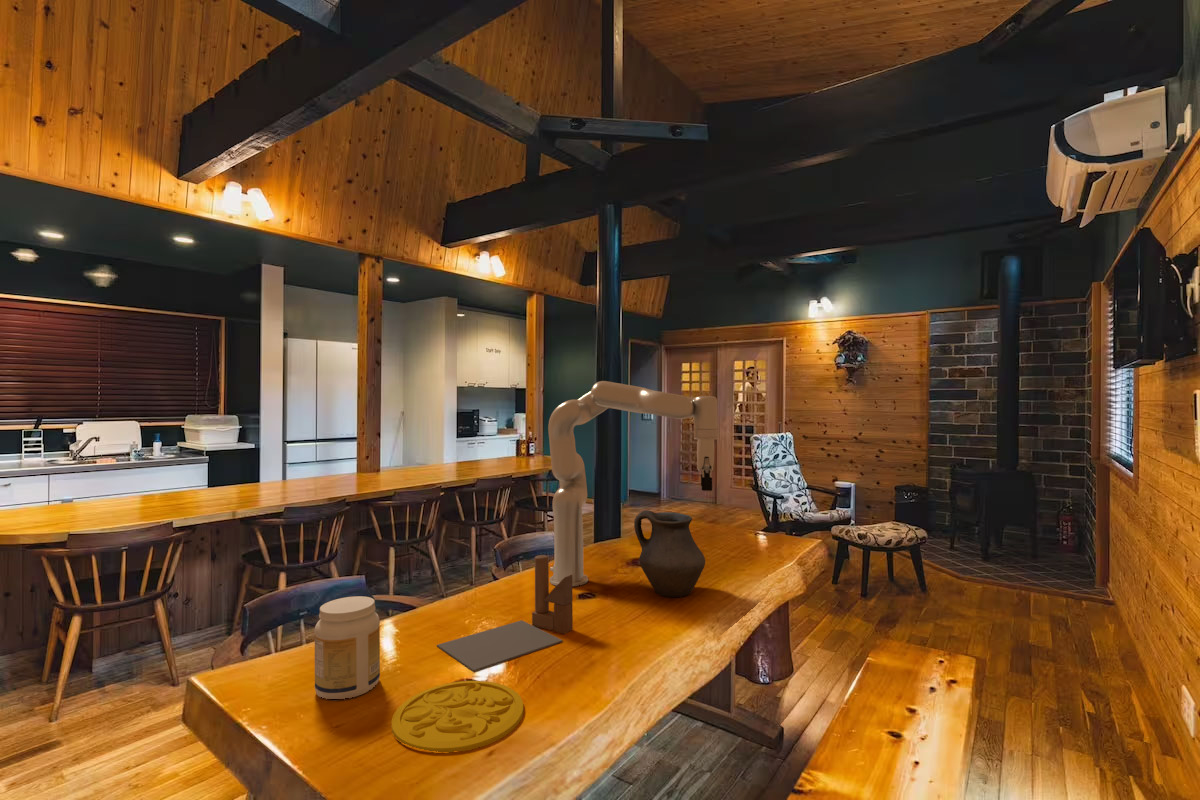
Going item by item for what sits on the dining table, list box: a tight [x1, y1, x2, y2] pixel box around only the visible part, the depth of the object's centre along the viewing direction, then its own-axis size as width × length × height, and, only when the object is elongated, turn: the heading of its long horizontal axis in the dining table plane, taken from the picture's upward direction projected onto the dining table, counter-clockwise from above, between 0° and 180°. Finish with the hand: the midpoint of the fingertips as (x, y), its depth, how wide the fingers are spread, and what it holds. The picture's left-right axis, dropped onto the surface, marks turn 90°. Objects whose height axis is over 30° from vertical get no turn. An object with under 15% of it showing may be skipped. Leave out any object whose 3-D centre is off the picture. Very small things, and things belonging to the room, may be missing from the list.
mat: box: [436, 619, 563, 673], centre depth 137 cm, size 18×24×1 cm
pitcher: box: [633, 510, 706, 598], centre depth 175 cm, size 21×22×25 cm
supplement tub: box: [313, 595, 381, 700], centre depth 116 cm, size 12×12×17 cm
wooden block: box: [531, 554, 574, 635], centre depth 147 cm, size 4×11×18 cm, turn 57°
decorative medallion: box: [391, 680, 524, 752], centre depth 105 cm, size 24×24×2 cm
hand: (706, 488), depth 181 cm, fingers open, 9 cm apart
